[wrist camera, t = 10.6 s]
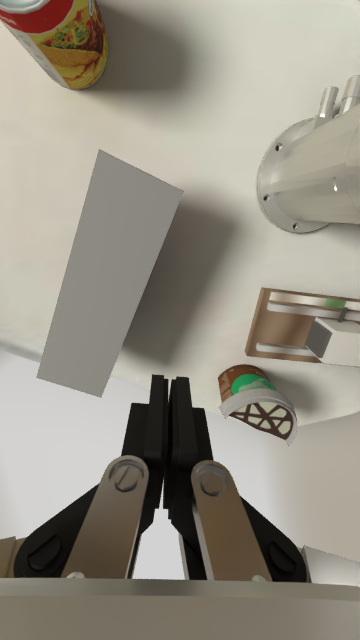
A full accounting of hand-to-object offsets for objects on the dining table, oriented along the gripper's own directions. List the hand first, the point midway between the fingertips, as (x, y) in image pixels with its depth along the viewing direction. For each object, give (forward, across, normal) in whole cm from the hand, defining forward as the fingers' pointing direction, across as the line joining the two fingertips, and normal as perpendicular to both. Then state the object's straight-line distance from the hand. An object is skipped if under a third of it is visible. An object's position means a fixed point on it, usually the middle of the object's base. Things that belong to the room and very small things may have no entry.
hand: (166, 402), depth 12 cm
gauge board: (+27, -26, +6) cm, 38 cm away
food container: (+27, -16, +16) cm, 36 cm away
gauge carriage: (+25, -25, +5) cm, 36 cm away
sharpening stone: (+27, +7, +1) cm, 28 cm away
